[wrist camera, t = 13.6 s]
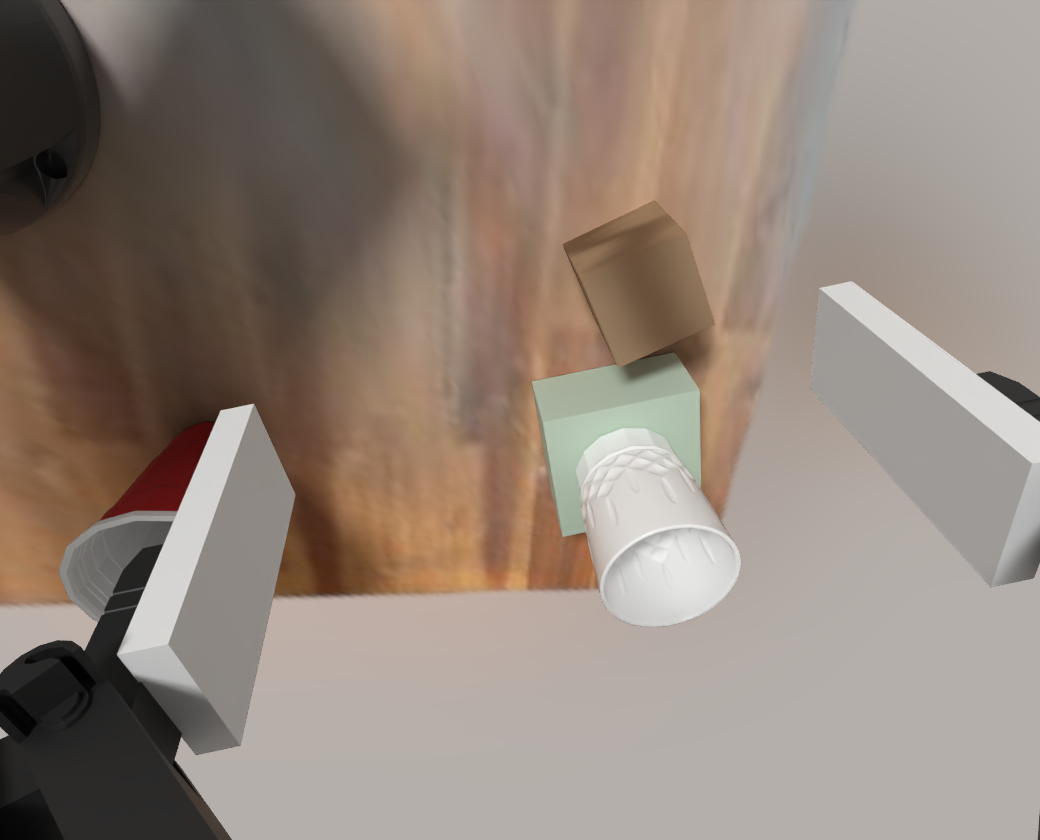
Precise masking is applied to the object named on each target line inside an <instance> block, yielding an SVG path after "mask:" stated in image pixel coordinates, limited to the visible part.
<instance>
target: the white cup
mask: <svg viewBox="0 0 1040 840" xmlns="http://www.w3.org/2000/svg"><path fill="white" fill-rule="evenodd" d="M576 478H577V487H578V492H579V496H580V500H581V512H582V516H583V521H584V526H585V531H586V534H587V541H588V545H589V550H590V554H591V558H592V562H593V566H594V570H595V574H596V579H597V583H598V587H599V592H600V596H601V599H602V602H603V604H604V606H605V607H606V609H607V610H608V611H609V612H610V613H611V614H612V615H613V616H615V617H616V618H617V619H619V620H621V621H623V622H625V623H628V624H632V625H635V626H641V627H665V626H671V625H676V624H680V623H683V622H686V621H689V620H691V619H694V618H696V617H698V616H700V615H702V614H704V613H706V612H707V611H709V610H710V609H712V608H713V607H715V606H716V605H717V604H718V603H720V602H721V601H722V600H723V599H724V598H725V597H726V596H727V595H728V593H729V592H730V591H731V589H732V588H733V587H734V585H735V583H736V581H737V579H738V576H739V573H740V569H741V557H740V553H739V550H738V548H737V546H736V544H735V543H734V541H733V540H732V538H731V537H730V535H729V534H728V532H727V530H726V528H725V527H724V525H723V524H722V522H721V521H720V519H719V517H718V516H717V514H716V512H715V511H714V509H713V508H712V506H711V504H710V502H709V501H708V499H707V497H706V496H705V494H704V493H703V492H702V490H701V489H700V488H699V486H698V484H697V482H696V481H695V479H694V478H693V477H692V475H691V474H690V472H689V470H688V469H687V467H686V466H685V465H683V464H682V463H681V461H680V460H679V458H678V457H677V455H676V453H675V452H674V450H673V449H672V447H671V446H670V444H669V443H668V442H667V440H666V439H665V437H664V436H662V435H659V434H657V433H655V432H653V431H651V430H649V429H646V428H621V429H619V430H616V431H614V432H611V433H608V434H606V435H603V436H601V437H599V438H598V439H597V440H596V441H595V442H594V443H593V444H592V445H590V446H589V447H588V448H587V449H586V450H585V451H584V452H583V454H582V457H581V459H580V461H579V463H578V465H577V468H576Z"/></svg>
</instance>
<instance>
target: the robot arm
mask: <svg viewBox="0 0 1040 840" xmlns="http://www.w3.org/2000/svg"><path fill="white" fill-rule="evenodd" d="M99 132H100V106H99V98H98V91H97V87H96V82H95V78H94V74H93V71H92V67H91V64H90V62H89V59H88V56H87V53H86V51H85V49H84V46H83V44H82V42H81V39H80V37H79V35H78V33H77V31H76V29H75V27H74V26H73V24H72V22H71V20H70V19H69V17H68V15H67V14H66V12H65V11H64V9H63V7H62V6H61V4H60V3H59V1H58V0H0V235H4V234H7V233H11V232H13V231H16V230H19V229H22V228H24V227H26V226H29V225H31V224H33V223H34V222H36V221H38V220H40V219H41V218H42V217H44V216H45V215H47V214H48V213H50V212H51V211H53V210H54V209H55V208H57V207H58V206H60V205H61V204H62V203H63V202H65V201H66V200H67V199H68V198H69V197H70V196H71V195H72V194H73V193H74V192H75V191H76V190H77V188H78V187H79V186H80V185H81V183H82V182H83V180H84V179H85V177H86V175H87V173H88V171H89V169H90V167H91V165H92V162H93V160H94V157H95V153H96V150H97V145H98V140H99ZM810 389H811V390H812V391H813V393H814V394H815V395H816V396H817V397H818V398H819V399H820V400H821V401H822V402H823V404H824V405H825V406H826V407H827V408H828V409H829V410H830V411H831V412H832V413H833V415H834V416H835V417H836V418H837V419H838V420H839V421H840V422H841V423H842V425H843V426H844V427H845V428H846V429H847V430H848V431H849V432H850V433H851V434H852V435H853V437H854V438H855V439H856V440H857V441H858V442H859V443H860V444H861V445H862V446H863V448H864V449H865V450H866V451H867V452H868V453H869V454H870V455H871V456H872V457H873V459H874V460H875V461H876V462H877V463H878V464H879V465H880V466H881V467H882V468H883V469H884V471H885V472H886V473H887V474H888V475H889V476H890V477H891V478H892V479H893V481H894V482H895V483H896V484H897V485H898V486H899V487H900V488H901V489H902V490H903V492H904V493H906V495H907V496H908V497H909V498H910V499H911V500H912V501H913V502H914V504H915V505H916V506H917V507H918V508H919V509H920V510H921V511H922V512H923V513H924V515H925V516H926V517H927V518H928V519H929V520H930V521H931V522H932V523H933V524H934V526H935V527H936V528H937V529H938V530H939V531H940V532H941V533H942V534H943V535H944V536H945V538H946V539H947V540H948V541H949V542H950V543H951V544H952V545H953V546H954V548H955V549H956V550H957V551H958V552H959V553H960V554H961V555H962V556H963V557H964V559H965V560H966V561H967V562H968V563H969V564H970V565H971V566H972V567H973V568H974V570H975V571H976V572H977V573H978V574H979V575H980V576H981V577H982V578H983V579H984V581H985V582H986V583H987V584H988V585H989V586H990V587H995V586H999V585H1004V584H1009V583H1014V582H1018V581H1023V580H1028V579H1032V578H1034V576H1035V574H1036V571H1037V568H1038V566H1039V563H1040V397H1038V396H1037V395H1036V394H1035V393H1033V392H1032V391H1030V390H1029V389H1027V388H1026V387H1025V386H1023V385H1021V384H1020V383H1019V382H1016V381H1013V380H1011V379H1008V378H1006V377H1003V376H1001V375H998V374H996V373H993V372H990V371H989V372H985V373H979V374H975V373H974V372H972V371H971V370H970V369H968V368H967V367H966V366H964V365H963V364H962V363H960V362H959V361H958V360H956V359H955V358H953V357H952V356H951V355H950V354H948V353H947V352H946V351H944V350H943V349H942V348H940V347H939V346H938V345H936V344H935V343H934V342H932V341H931V340H930V339H928V338H927V337H925V336H924V335H923V334H921V333H920V332H919V331H917V330H916V329H915V328H913V327H912V326H911V325H909V324H908V323H907V322H905V321H904V320H903V319H901V318H900V317H899V316H897V315H896V314H895V313H893V312H892V311H891V310H889V309H888V308H887V307H885V306H884V305H883V304H881V303H880V302H879V301H877V300H876V299H875V298H873V297H872V296H871V295H869V294H868V293H867V292H865V291H864V290H863V289H861V288H860V287H859V286H857V285H856V284H854V283H853V282H847V283H842V284H837V285H832V286H828V287H822V288H820V289H819V298H818V308H817V319H816V329H815V340H814V352H813V361H812V372H811V383H810ZM295 496H296V494H295V492H294V490H293V488H292V486H291V484H290V481H289V479H288V477H287V475H286V473H285V470H284V468H283V466H282V464H281V462H280V459H279V457H278V455H277V453H276V451H275V449H274V446H273V444H272V442H271V440H270V438H269V435H268V433H267V431H266V429H265V427H264V424H263V422H262V420H261V418H260V416H259V414H258V411H257V409H256V407H255V405H254V404H250V405H245V406H240V407H235V408H230V409H226V410H221V411H220V413H219V415H218V418H217V420H216V423H215V425H214V427H213V430H212V432H211V434H210V437H209V439H208V441H207V444H206V446H205V448H204V451H203V453H202V455H201V458H200V460H199V462H198V465H197V467H196V470H195V472H194V474H193V477H192V479H191V481H190V484H189V486H188V488H187V491H186V493H185V495H184V498H183V500H182V502H181V505H180V507H179V510H178V512H177V514H176V517H175V519H174V521H173V524H172V526H171V528H170V531H169V533H168V535H167V538H166V540H165V542H164V544H161V545H156V546H151V547H146V548H143V549H142V550H141V551H140V552H139V553H138V554H137V555H136V556H135V557H134V558H133V560H132V561H131V562H130V563H129V564H128V565H127V566H126V567H125V568H124V569H123V571H122V573H121V575H120V577H119V579H118V582H117V584H116V586H115V588H114V590H113V596H111V597H110V598H109V601H108V603H107V605H106V607H105V609H104V615H101V617H100V620H99V622H98V624H97V626H96V628H95V630H94V632H93V634H92V636H91V639H90V641H89V643H88V645H87V647H86V649H85V651H84V650H83V649H82V648H81V647H80V646H79V645H77V644H76V643H74V642H73V641H60V640H57V641H54V642H51V643H47V644H44V645H40V646H38V647H36V648H34V649H32V650H31V651H29V652H27V653H25V654H23V655H21V656H20V657H19V658H18V659H16V660H15V661H14V662H13V663H11V664H10V665H9V666H8V667H6V668H5V669H4V670H3V671H2V672H1V674H0V727H1V728H2V729H3V730H4V731H5V732H6V733H7V734H8V735H9V736H6V737H4V738H2V739H0V840H232V839H231V838H230V836H229V835H228V833H227V832H226V831H225V829H224V828H223V826H222V825H221V823H220V822H219V821H218V819H217V818H216V816H215V815H214V814H213V812H212V811H211V809H210V808H209V807H208V805H207V804H206V802H205V801H204V800H203V798H202V797H201V795H200V794H199V792H198V791H197V790H196V788H195V787H194V785H193V784H192V782H191V781H190V780H189V779H188V777H187V775H186V774H185V773H184V771H183V770H182V769H181V767H180V766H179V765H178V764H177V762H176V761H175V760H174V759H175V756H176V752H177V749H178V745H179V742H180V739H181V737H182V738H183V739H184V741H185V742H186V743H187V744H188V746H189V747H190V748H191V749H192V751H193V752H194V753H195V754H196V755H199V754H204V753H208V752H213V751H217V750H223V749H227V748H232V747H236V746H240V745H241V741H242V736H243V732H244V727H245V723H246V718H247V714H248V709H249V704H250V700H251V696H252V691H253V687H254V682H255V677H256V673H257V668H258V664H259V659H260V654H261V650H262V645H263V641H264V637H265V632H266V627H267V623H268V618H269V614H270V609H271V605H272V600H273V596H274V591H275V587H276V582H277V577H278V573H279V568H280V564H281V559H282V555H283V550H284V546H285V541H286V537H287V532H288V527H289V523H290V518H291V514H292V509H293V505H294V500H295ZM1038 840H1040V816H1039V831H1038Z"/></svg>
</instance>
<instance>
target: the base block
mask: <svg viewBox="0 0 1040 840" xmlns="http://www.w3.org/2000/svg"><path fill="white" fill-rule="evenodd" d="M532 387H533V392H534V398H535V404H536V409H537V415H538V420H539V426H540V432H541V437H542V443H543V449H544V454H545V460H546V465H547V471H548V477H549V482H550V488H551V493H552V497H553V501H554V505H555V509H556V513H557V517H558V521H559V524H560V528H561V532H562V536H563V537H565V536H569V535H574V534H579V533H584V532H586V531H585V526H584V521H583V516H582V512H581V500H580V496H579V492H578V487H577V478H576V468H577V465H578V463H579V461H580V459H581V457H582V454H583V452H584V451H585V450H586V449H587V448H588V447H589V446H590V445H592V444H593V443H594V442H595V441H596V440H597V439H598V438H599V437H601V436H603V435H606V434H608V433H611V432H614V431H616V430H619V429H621V428H646V429H649V430H651V431H653V432H655V433H657V434H659V435H662V436H664V437H665V439H666V440H667V442H668V443H669V444H670V446H671V447H672V449H673V450H674V452H675V453H676V455H677V457H678V458H679V460H680V461H681V463H682V464H683V465H685V466H686V467H687V469H688V470H689V472H690V474H691V475H692V477H693V478H694V479H695V481H696V482H697V484H698V486H699V488H700V489H701V458H700V390H699V388H698V387H697V385H696V384H695V382H694V381H693V379H692V378H691V376H690V375H689V373H688V372H687V370H686V369H685V367H684V366H683V364H682V362H681V361H680V359H679V358H678V356H677V355H676V353H675V352H673V353H669V354H664V355H659V356H654V357H649V358H644V359H639V360H635V361H633V362H631V363H629V364H626V365H624V366H622V367H620V368H618V366H617V364H615V365H610V366H605V367H600V368H595V369H591V370H586V371H581V372H576V373H571V374H566V375H561V376H556V377H552V378H547V379H542V380H537V381H532Z"/></svg>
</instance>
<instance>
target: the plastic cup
mask: <svg viewBox="0 0 1040 840" xmlns="http://www.w3.org/2000/svg"><path fill="white" fill-rule="evenodd" d="M215 423H216V422H203V423H200V424H196V425H193V426H190V427H189V428H187V429H186V430H184V431H183V432H182V433H181V434H179V435H178V436H177V437H176V438H174V439H173V440H172V441H171V443H170V444H169V445H168V446H167V447H166V448H165V450H164V451H163V452H162V453H161V454H160V455H159V456H158V457H157V458H155V459H154V460H153V461H152V462H151V463H150V464H149V466H148V467H147V468H146V469H145V470H144V471H143V473H142V474H141V475H140V476H139V477H138V478H137V480H136V481H135V482H134V483H133V484H132V485H131V487H130V488H129V489H128V490H127V491H126V492H125V494H124V495H123V496H122V497H121V498H120V499H119V500H118V502H117V503H116V504H115V505H114V506H113V507H112V508H111V509H110V510H108V511H107V512H106V513H105V514H104V516H103V517H102V518H101V520H99V521H97V522H96V523H95V524H94V525H92V526H91V527H90V528H88V529H87V530H86V531H85V532H83V533H82V534H81V535H79V536H78V537H77V538H76V539H74V540H73V541H72V542H71V543H70V544H69V545H68V546H67V547H66V551H65V554H64V557H63V560H62V563H61V566H60V569H59V574H60V577H61V579H62V582H63V585H64V587H65V590H66V592H67V595H68V598H70V599H71V600H72V601H73V602H74V603H75V604H76V605H77V606H78V607H80V608H81V609H82V610H83V611H84V612H85V613H86V614H87V615H89V616H90V617H91V618H92V619H93V620H95V621H98V622H99V620H100V617H101V615H104V609H105V607H106V605H107V603H108V601H109V598H110V597H111V596H113V590H114V588H115V586H116V584H117V582H118V579H119V577H120V575H121V573H122V571H123V569H124V568H125V567H126V566H127V565H128V564H129V563H130V562H131V561H132V560H133V558H134V557H135V556H136V555H137V554H138V553H139V552H140V551H141V550H142V549H143V548H146V547H151V546H156V545H161V544H164V542H165V540H166V538H167V535H168V533H169V531H170V528H171V526H172V524H173V521H174V519H175V517H176V514H177V512H178V510H179V507H180V505H181V502H182V500H183V498H184V495H185V493H186V491H187V488H188V486H189V484H190V481H191V479H192V477H193V474H194V472H195V470H196V467H197V465H198V462H199V460H200V458H201V455H202V453H203V451H204V448H205V446H206V444H207V441H208V439H209V437H210V434H211V432H212V430H213V427H214V425H215Z"/></svg>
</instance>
